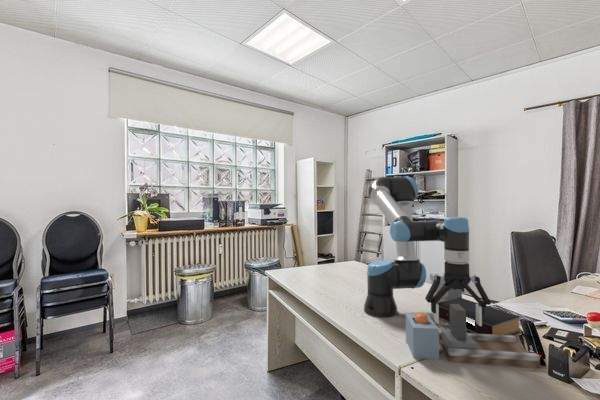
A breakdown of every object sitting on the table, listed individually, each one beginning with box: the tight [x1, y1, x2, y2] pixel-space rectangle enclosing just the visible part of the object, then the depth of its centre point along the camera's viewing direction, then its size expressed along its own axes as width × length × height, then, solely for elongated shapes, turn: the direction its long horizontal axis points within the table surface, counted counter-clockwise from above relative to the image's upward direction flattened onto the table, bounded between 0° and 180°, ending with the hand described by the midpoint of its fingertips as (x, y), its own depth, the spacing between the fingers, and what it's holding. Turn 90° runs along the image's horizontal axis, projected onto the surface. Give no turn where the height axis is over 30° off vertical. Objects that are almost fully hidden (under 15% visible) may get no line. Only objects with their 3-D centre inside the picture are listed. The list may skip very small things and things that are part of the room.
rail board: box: [439, 331, 541, 369], centre depth 97 cm, size 26×14×4 cm, turn 81°
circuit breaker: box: [429, 271, 465, 303], centre depth 143 cm, size 8×14×15 cm, turn 78°
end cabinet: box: [405, 313, 440, 360], centre depth 100 cm, size 8×12×10 cm, turn 171°
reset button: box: [414, 312, 428, 324], centre depth 100 cm, size 4×4×4 cm
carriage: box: [440, 304, 477, 350], centre depth 98 cm, size 8×10×13 cm
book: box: [437, 297, 521, 336], centre depth 120 cm, size 17×25×7 cm
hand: (457, 323), depth 99 cm, fingers open, 13 cm apart
